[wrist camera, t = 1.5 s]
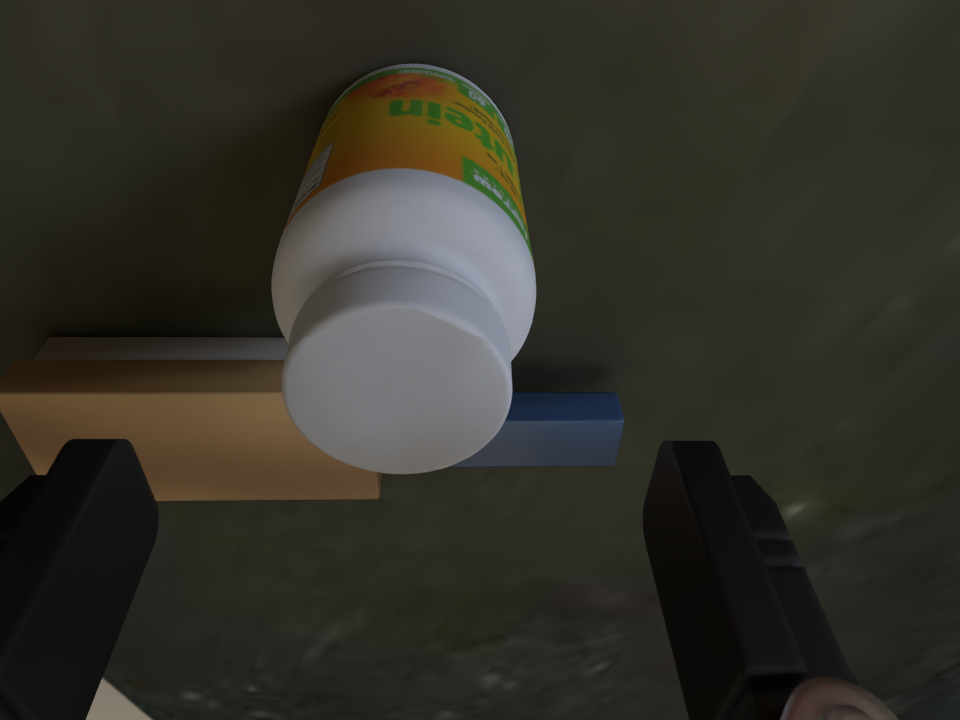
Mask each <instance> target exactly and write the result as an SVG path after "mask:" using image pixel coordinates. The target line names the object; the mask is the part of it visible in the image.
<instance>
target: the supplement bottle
mask: <svg viewBox="0 0 960 720" xmlns="http://www.w3.org/2000/svg"><path fill="white" fill-rule="evenodd" d="M271 290H272V299H273V307H274V311H275V315H276V319H277V322H278V325H279V327H280V329H281V332H282V334H283V335H284V337H285V339H286V340H287V342H288V348H287V352H286V357H285V361H284V366H283V370H282V385H281V389H282V395H283V400H284V403H285V406H286V409H287V412H288V414H289V416H290V418H291V420H292V421H293V423H294V424H295V426H296V427H297V429H298V430H299V431H300V432H301V434H302V435H303V436H304V437H305V438H306V439H307V440H308V441H310V442H311V443H312V444H313V445H314V446H316V447H317V448H318V449H320V450H321V451H323V452H324V453H325V454H327V455H329V456H331V457H333V458H335V459H337V460H339V461H341V462H343V463H346V464H348V465H351V466H354V467H358V468H361V469H364V470H368V471H374V472H381V473H389V474H414V473H423V472H429V471H434V470H438V469H442V468H445V467H448V466H451V465H454V464H456V463H458V462H460V461H462V460H464V459H466V458H469V457H471V456H472V455H473V454H475V453H476V452H478V451H479V450H480V449H482V448H483V447H484V446H485V445H486V444H487V443H488V442H489V441H491V440H492V439H493V438H494V437H495V435H496V434H497V433H498V431H499V430H500V428H501V427H502V425H503V423H504V421H505V419H506V417H507V415H508V412H509V408H510V405H511V400H512V374H511V361H512V360H513V359H514V357H515V356H516V355H517V353H518V352H519V350H520V349H521V347H522V345H523V344H524V342H525V340H526V337H527V335H528V333H529V330H530V327H531V324H532V320H533V315H534V310H535V303H536V279H535V269H534V262H533V256H532V251H531V245H530V240H529V234H528V229H527V223H526V217H525V211H524V205H523V199H522V194H521V187H520V180H519V174H518V168H517V160H516V155H515V150H514V145H513V141H512V137H511V134H510V131H509V128H508V126H507V124H506V122H505V120H504V118H503V116H502V114H501V113H500V111H499V110H498V108H497V107H496V105H495V104H494V103H493V101H492V100H491V99H490V98H489V97H488V96H487V95H486V94H485V93H484V92H483V91H482V90H481V89H480V88H479V87H477V86H476V85H475V84H473V83H472V82H471V81H469V80H467V79H466V78H464V77H462V76H460V75H458V74H456V73H454V72H452V71H450V70H446V69H443V68H440V67H436V66H432V65H426V64H400V65H393V66H389V67H385V68H382V69H379V70H376V71H374V72H371V73H369V74H367V75H366V76H364V77H362V78H360V79H359V80H357V81H356V82H355V83H353V84H352V85H351V86H350V87H349V88H347V89H346V90H345V91H344V92H343V93H342V95H341V96H340V97H339V98H338V99H337V101H336V102H335V103H334V105H333V106H332V108H331V110H330V111H329V113H328V115H327V117H326V119H325V121H324V123H323V125H322V128H321V130H320V133H319V135H318V138H317V141H316V144H315V147H314V149H313V152H312V155H311V158H310V161H309V163H308V166H307V169H306V172H305V175H304V177H303V180H302V182H301V185H300V188H299V191H298V194H297V197H296V199H295V202H294V205H293V208H292V210H291V213H290V216H289V219H288V221H287V224H286V226H285V228H284V231H283V234H282V236H281V239H280V243H279V246H278V249H277V252H276V257H275V261H274V265H273V272H272V288H271Z"/></svg>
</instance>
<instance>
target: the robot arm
mask: <svg viewBox="0 0 960 720" xmlns="http://www.w3.org/2000/svg"><path fill="white" fill-rule="evenodd" d="M157 531H158V507H157V503H156V500H155V498H154V495H153V493H152V490H151V488H150V486H149V483H148V481H147V478H146V476H145V474H144V471H143V469H142V466H141V464H140V462H139V459H138V457H137V454H136V452H135V450H134V447H133V445H132V444H131V443H130V441H128V440H127V439H72V440H69V441H68V442H66V444H65V445H64V446H63V447H62V448H61V450H60V452H59V453H58V455H57V457H56V458H55V460H54V462H53V464H52V465H51V467H50V469H49V470H48V472H47V474H46V475H30V476H29V477H28V478H27V479H26V480H25V481H23V482H22V483H21V484H20V485H19V486H18V487H17V488H15V489H14V490H13V491H12V492H11V493H10V494H9V495H7V496H6V497H5V498H4V499H3V500H2V501H1V502H0V720H86V717H87V714H88V712H89V710H90V707H91V704H92V702H93V699H94V697H95V694H96V691H97V689H98V687H99V684H100V681H101V679H102V676H103V674H104V671H105V669H106V666H107V664H108V661H109V658H110V656H111V653H112V651H113V648H114V646H115V643H116V641H117V638H118V635H119V633H120V630H121V628H122V625H123V623H124V620H125V618H126V615H127V612H128V610H129V607H130V605H131V602H132V600H133V597H134V595H135V592H136V589H137V587H138V584H139V582H140V579H141V577H142V574H143V572H144V569H145V566H146V564H147V561H148V559H149V556H150V554H151V551H152V549H153V546H154V543H155V540H156V536H157ZM643 531H644V538H645V543H646V548H647V552H648V556H649V560H650V564H651V568H652V572H653V576H654V580H655V584H656V588H657V592H658V596H659V600H660V604H661V608H662V612H663V616H664V620H665V624H666V628H667V632H668V636H669V640H670V644H671V648H672V652H673V656H674V660H675V664H676V668H677V672H678V676H679V680H680V684H681V688H682V692H683V696H684V700H685V704H686V708H687V712H688V716H689V720H898V719H897V718H896V716H895V715H894V714H893V712H892V711H891V710H890V709H889V708H888V707H887V706H886V705H885V704H884V703H883V702H882V701H881V700H879V699H878V698H877V697H876V696H874V695H873V694H872V693H870V692H869V691H867V690H865V689H864V688H862V687H861V686H860V685H859V684H858V682H857V681H856V679H855V678H854V676H853V675H852V673H851V671H850V669H849V667H848V665H847V663H846V661H845V659H844V657H843V654H842V652H841V650H840V647H839V645H838V643H837V641H836V638H835V636H834V634H833V632H832V629H831V627H830V625H829V623H828V620H827V618H826V616H825V614H824V611H823V609H822V607H821V605H820V602H819V600H818V598H817V595H816V593H815V591H814V589H813V586H812V584H811V582H810V580H809V577H808V575H807V573H806V571H805V568H804V567H801V559H800V557H799V555H798V552H797V550H796V548H795V546H794V543H793V541H790V539H789V535H790V534H789V532H788V530H787V528H786V525H785V523H784V521H783V519H782V516H781V514H780V512H779V510H778V507H777V505H776V503H775V502H774V501H773V500H772V499H771V498H770V496H769V495H768V494H767V493H766V492H765V491H764V490H763V489H762V488H761V487H760V486H759V485H758V484H757V483H756V482H755V480H754V479H753V478H752V477H751V476H730V473H729V471H728V468H727V466H726V463H725V461H724V458H723V456H722V453H721V451H720V449H719V447H718V445H717V444H716V443H715V442H714V441H664V442H663V443H662V444H661V446H660V449H659V452H658V455H657V459H656V463H655V466H654V470H653V473H652V477H651V480H650V484H649V487H648V491H647V495H646V498H645V502H644V508H643Z"/></svg>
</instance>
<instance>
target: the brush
mask: <svg viewBox="0 0 960 720" xmlns="http://www.w3.org/2000/svg"><path fill="white" fill-rule="evenodd" d="M287 348H288V342H287V340H286V339H285V337H49V339H48V340H47V341H46V343H45V344H44V346H43V347H42V349H41V350H40V352H39V353H38V354H37V356H36V357H35V359H34V360H16V361H14V363H13V364H12V365H11V367H10V368H9V369H8V371H7V372H6V374H5V375H4V376H3V378H2V379H1V380H0V412H1V414H2V415H3V417H4V419H5V420H6V422H7V424H8V426H9V427H10V429H11V431H12V433H13V434H14V436H15V438H16V440H17V441H18V443H19V445H20V447H21V448H22V450H23V452H24V454H25V455H26V457H27V459H28V461H29V462H30V464H31V466H32V468H33V469H34V471H35V473H36V475H46V474H47V472H48V470H49V469H50V467H51V465H52V464H53V462H54V460H55V458H56V457H57V455H58V453H59V452H60V450H61V448H62V447H63V446H64V445H65V444H66V442H68V441H69V440H72V439H127V440H128V441H130V443H131V444H132V445H133V447H134V450H135V452H136V454H137V457H138V459H139V462H140V464H141V466H142V469H143V471H144V474H145V476H146V478H147V481H148V483H149V486H150V488H151V490H152V493H153V495H154V498H155V500H156V501H196V500H315V499H378V498H379V496H380V487H381V476H382V473H381V472H374V471H368V470H364V469H361V468H358V467H354V466H351V465H348V464H346V463H343V462H341V461H339V460H337V459H335V458H333V457H331V456H329V455H327V454H325V453H324V452H323V451H321V450H320V449H318V448H317V447H316V446H314V445H313V444H312V443H311V442H310V441H308V440H307V439H306V438H305V437H304V436H303V435H302V434H301V432H300V431H299V430H298V429H297V427H296V426H295V424H294V423H293V421H292V420H291V418H290V416H289V414H288V412H287V409H286V406H285V403H284V400H283V395H282V389H281V385H282V370H283V366H284V361H285V357H286V352H287ZM624 422H625V421H624V417H623V413H622V410H621V406H620V402H619V399H618V395H617V393H615V392H535V393H512V400H511V405H510V408H509V412H508V415H507V417H506V419H505V421H504V423H503V425H502V427H501V428H500V430H499V431H498V433H497V434H496V435H495V437H494V438H493V439H492V440H491V441H489V442H488V443H487V444H486V445H485V446H484V447H483V448H482V449H480V450H479V451H478V452H476V453H475V454H473V455H472V456H471V457H469V458H466V459H464V460H462V461H460V462H458V463H456V464H454V465H451V466H448V467H529V466H614V464H615V461H616V456H617V452H618V448H619V443H620V439H621V435H622V430H623V426H624Z"/></svg>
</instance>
